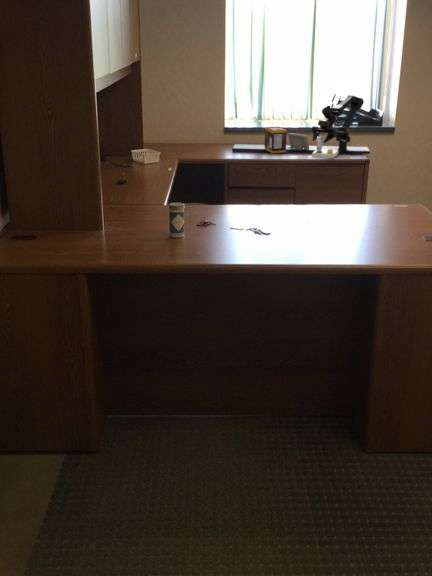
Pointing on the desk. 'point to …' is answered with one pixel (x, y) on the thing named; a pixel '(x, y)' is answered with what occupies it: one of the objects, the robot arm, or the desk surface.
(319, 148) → the steel pin
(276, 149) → the supplement box
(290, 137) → the digital clock
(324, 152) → the gauge board
